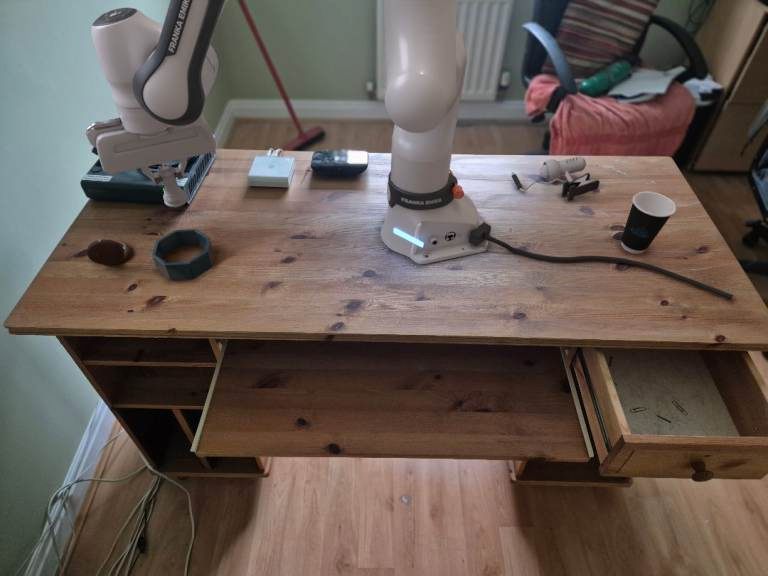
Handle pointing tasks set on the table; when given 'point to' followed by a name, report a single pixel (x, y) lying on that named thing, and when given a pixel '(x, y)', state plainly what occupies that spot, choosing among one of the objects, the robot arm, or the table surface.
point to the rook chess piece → (171, 187)
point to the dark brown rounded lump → (108, 252)
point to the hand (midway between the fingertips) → (169, 180)
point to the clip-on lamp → (566, 167)
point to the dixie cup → (646, 220)
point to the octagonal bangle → (183, 268)
